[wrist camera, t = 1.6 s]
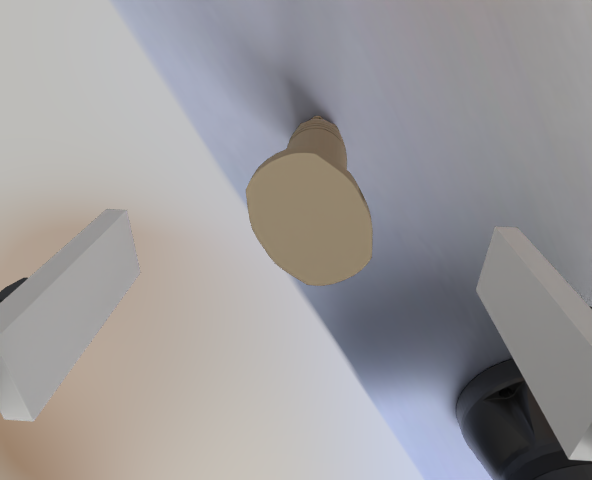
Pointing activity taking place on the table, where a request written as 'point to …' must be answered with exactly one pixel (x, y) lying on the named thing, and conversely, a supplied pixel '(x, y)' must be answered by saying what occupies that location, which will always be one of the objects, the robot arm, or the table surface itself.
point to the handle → (311, 208)
